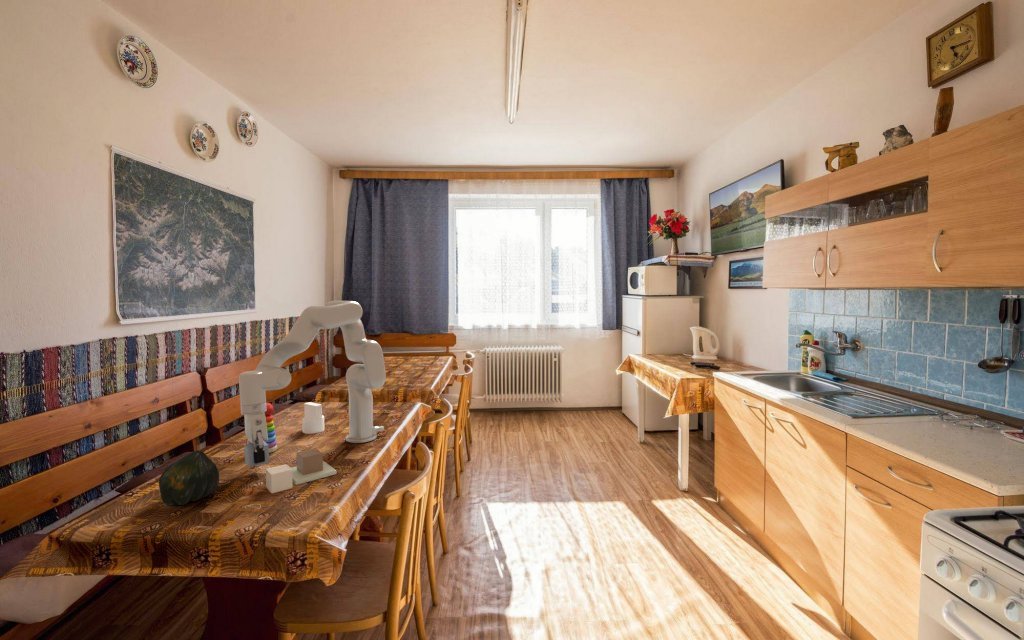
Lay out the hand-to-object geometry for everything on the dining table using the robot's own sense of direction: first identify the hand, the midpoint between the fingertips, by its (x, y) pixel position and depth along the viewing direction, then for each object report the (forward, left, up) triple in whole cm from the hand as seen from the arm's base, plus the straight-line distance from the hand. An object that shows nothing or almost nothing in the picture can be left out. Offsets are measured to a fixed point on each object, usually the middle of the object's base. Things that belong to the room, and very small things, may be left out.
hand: (257, 459), depth 154 cm
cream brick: (-2, +17, -5) cm, 18 cm away
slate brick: (0, 0, -1) cm, 1 cm away
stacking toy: (-8, -22, -5) cm, 24 cm away
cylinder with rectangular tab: (-31, -37, -5) cm, 48 cm away
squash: (+20, +8, -5) cm, 22 cm away
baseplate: (-13, +12, -5) cm, 19 cm away
